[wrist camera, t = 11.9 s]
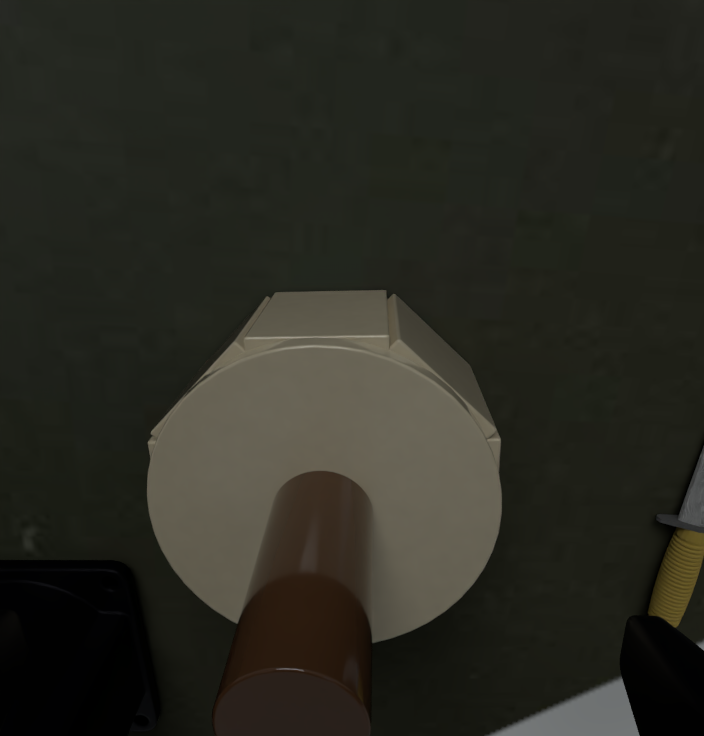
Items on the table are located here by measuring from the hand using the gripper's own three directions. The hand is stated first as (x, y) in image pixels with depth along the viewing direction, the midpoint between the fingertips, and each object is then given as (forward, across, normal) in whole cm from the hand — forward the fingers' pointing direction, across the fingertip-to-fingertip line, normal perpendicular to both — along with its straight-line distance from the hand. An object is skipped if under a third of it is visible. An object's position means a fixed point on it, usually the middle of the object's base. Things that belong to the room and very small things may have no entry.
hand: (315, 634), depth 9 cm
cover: (+7, 0, 0) cm, 7 cm away
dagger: (+7, -11, +2) cm, 13 cm away
